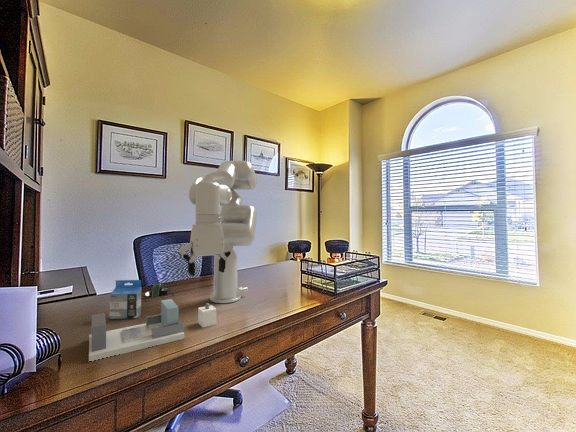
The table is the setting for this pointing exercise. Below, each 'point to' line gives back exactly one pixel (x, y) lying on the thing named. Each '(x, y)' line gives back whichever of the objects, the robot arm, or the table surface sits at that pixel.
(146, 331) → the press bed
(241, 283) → the table surface
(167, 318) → the block
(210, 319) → the block
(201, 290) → the table surface
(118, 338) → the base
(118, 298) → the label tape box
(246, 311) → the table surface
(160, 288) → the dark green piece
